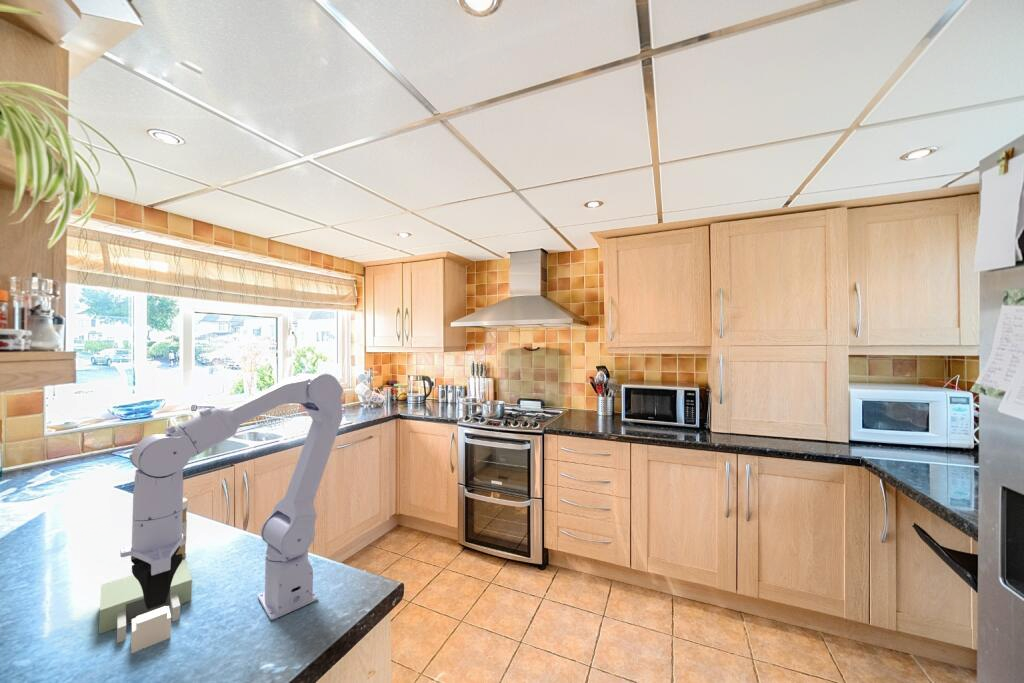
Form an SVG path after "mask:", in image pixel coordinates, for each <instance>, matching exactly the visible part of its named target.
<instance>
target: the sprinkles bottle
mask: <svg viewBox="0 0 1024 683" xmlns="http://www.w3.org/2000/svg"><path fill="white" fill-rule="evenodd" d="M188 500H189V499H188V498H185V497H183V512H182V534H183V542H182V543H181V544H180V548H179V550H178V552H177V553H176V555H178V554H181V553H182V555H183V559H185V558H186V555H187V553H186V544H187V527H188V526H187V524H188V523H187V522H188V520H187V509H188V503H189V501H188Z"/></svg>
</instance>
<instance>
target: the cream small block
mask: <svg viewBox="0 0 1024 683" xmlns="http://www.w3.org/2000/svg"><path fill="white" fill-rule="evenodd" d="M130 624H131V625H130V627H131V631H130V646H131V647H130V649H131V654H133V653H136V652H139V651H141V650H143V648H144V649H146V648H148V647H151V646H154V645H155V644H158V643H161V642H164V641H165V640H168V639H171V634H172V633H171V631H172V617H171V612H170V609H169V606H167V607H166V606H164V607H161V608H158V609H156V610H153V611H150V612H147V613H144V614H142V615H139V616H136V618H134V619H132V622H131V623H130Z"/></svg>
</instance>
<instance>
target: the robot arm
mask: <svg viewBox="0 0 1024 683" xmlns="http://www.w3.org/2000/svg"><path fill="white" fill-rule="evenodd" d="M343 392H344V388H343V386H342V385H341V383H340V382H339V380H338V379H337V378H336V377H335V376H333V375H332V374H328V373H321V374H320V373H312V372H306V371H304V372H300V373H297V374H295V375H294V376H290V377H287V378H284V379H283V380H281V381H279V382H278V383H275V384H274V385H272V386H270V387H269V388H266V389H265V390H263V391H261V392H258V393H257V394H255V395H253V396H252V397H250V398H248V399H246V400H244V401H242V402H239V403H238V404H236V405H234V406H232V407H231V408H229V409H227V408H223V407H214V408H212V409H211V408H209V407H206V408H204V409H201V410H200V411H199V415H198V416H195V417H193V418H191V419H189V420H187V421H185V422H183V423H181V424H178V425H177V426H174V425H169V426H168V427H165V431H166V432H165V433H166V434H165V433H160V434H159V433H156V434H151V435H148V436H146V437H144V438H142V439H141V440H139V441H138V443H137V445H135V446H134V448H133V449H132V452H131V454H129V457H128V458H129V461H130V463H131V465H133V467H135V469H136V470H135V474H134V485H133V495H132V496H133V497H132V524H131V526H132V527H131V545H129V546H125V547H122V548H121V549H120V554H119V556H120V557H121V558H127V557H129V556H130V562H131V563H132V564H133V565H131V574H132V575H134V577H135V578H136V579H137V580H138V581H139V583H140V585H141V587H142V591H143V596H144V601H145V605H146V608H147V609H151V608H154V607H156V606H159V605H162V604H165V603H166V600H167V597H168V594H169V590H170V586H171V583H172V579H173V577H174V574H175V572H176V570H177V568H178V567H179V565H180V564H181V562H182V560H184V558H183V555H182V553H181V554H178V555H176V553H177V552H178V550H179V548H180V544H181V543H182V542H183V534H182V512H183V498H184V479H183V476H184V475H183V474H184V473H183V471H184V470H183V469H184V468H185V467H186V466H187V465H188V463H189V461H190V459H191V458H195V457H197V456H199V455H200V454H202V453H204V452H206V451H208V450H210V449H211V448H214V447H215V446H217V445H219V444H221V443H223V442H224V441H226V440H228V439H230V438H231V437H234V436H235V435H236V433H237V432H238V429H239V427H240V425H243V424H244V423H246V422H248V421H251V420H253V419H255V418H257V417H259V416H261V415H263V414H265V413H268V412H270V411H271V410H273V409H276V408H278V407H280V406H282V405H284V404H299V405H301V406H302V407H303V408H304V409H305V410H306V412H307V414H308V415H309V416H310V418H311V420H312V422H311V424H310V427H309V430H308V433H307V436H306V438H305V440H304V442H303V443H304V444H303V447H302V449H301V451H300V454H299V457H298V460H297V462H296V465H295V468H294V470H293V473H292V475H291V478H290V482H289V483H288V487H287V489H286V492H285V495H284V497H283V498H282V499H281V500H279V501H278V502H277V503H275V504H274V507H273V510H272V512H271V513H270V515H269V516H268V517H267V518H266V519H265V521H264V522H263V524H262V525H261V529H260V538H261V539H262V540H263V542H265V543H267V544H266V551H265V564H264V566H265V567H264V570H265V573H264V591H263V592H260V593H258V594H257V600H259V602H260V604H261V606H262V608H263V609H264V611H265V613H266V614H267V617H268V618H269V620H270V621H271V620H272V621H274V620H275V619H278V618H280V617H282V616H285V615H287V614H288V613H291V612H293V611H296V610H298V609H300V608H302V607H303V608H304V607H305V606H306V605H308V604H311V603H314V602H315V601H317V600H318V598H319V596H318V595H317V594H316V592H314V590H313V588H314V585H313V584H314V569H313V566H312V564H311V563H310V562H309V548H310V547H311V545H313V543H314V540H315V536H316V531H315V530H316V529H315V524H316V520H317V517H318V516H317V512H316V507H315V504H314V501H315V497H316V496H317V492H318V491H319V490H318V489H319V486H320V484H321V482H322V481H321V480H322V477H323V475H324V472H325V469H326V466H327V463H328V461H329V458H330V455H331V452H332V449H333V447H334V444H335V441H336V437H337V434H338V432H339V429H340V426H341V423H342V420H343V416H344V414H343V406H342V396H343Z"/></svg>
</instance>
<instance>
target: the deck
mask: <svg viewBox="0 0 1024 683" xmlns="http://www.w3.org/2000/svg"><path fill="white" fill-rule="evenodd" d="M100 586H101V587H100V603H99V621H98V622H99V626H98V635H101V634H103V633H106V631H107V632H108V631H112V630H114V629H116V643H117V644H118V643H121V642H125V641H126V640H127V625H128V624H132V619H134V618H136V616H139V615H142V614H144V613H147V612H150V611H153V610H156V609H158V608H161V607H164V606H166V607H167V606H169V609H170V614H171V623H172V622H173V623H174V622H176V621H178V620H181V605H182V604H185V603H188V602H191V601H192V597H193V596H192V594H193V593H192V589H193V588H192V587H193V579H192V574H191V573H190V569H189V566H188V564H187V560H186V559H182V562H181V564H180V565H179V567H178V568H177V570H176V572H175V574H174V577H173V579H172V583H171V586H170V590H169V594H168V597H167V600H166V603H165V604H162V605H159V606H156V607H154V608H151V609H147V608H146V605H145V601H144V596H143V591H142V587H141V585H140V583H139V581H138V580H137V579H136V578H135V577H134V575H133V574H132V575H129V576H126V577H122V578H120V579H119V578H118V579H115V580H113V581H110V582H106V583H103V584H101V585H100Z"/></svg>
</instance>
